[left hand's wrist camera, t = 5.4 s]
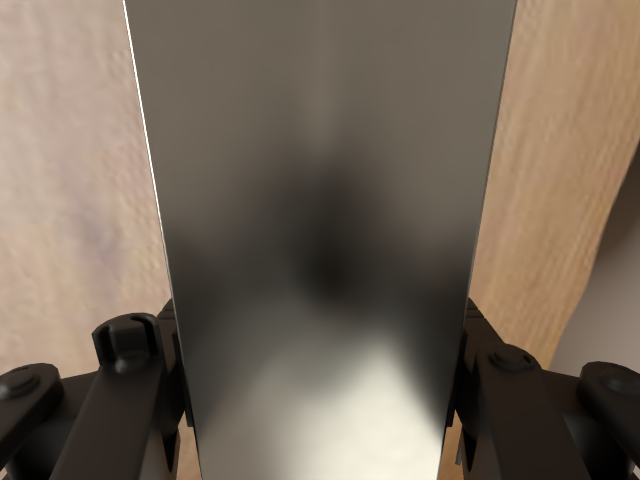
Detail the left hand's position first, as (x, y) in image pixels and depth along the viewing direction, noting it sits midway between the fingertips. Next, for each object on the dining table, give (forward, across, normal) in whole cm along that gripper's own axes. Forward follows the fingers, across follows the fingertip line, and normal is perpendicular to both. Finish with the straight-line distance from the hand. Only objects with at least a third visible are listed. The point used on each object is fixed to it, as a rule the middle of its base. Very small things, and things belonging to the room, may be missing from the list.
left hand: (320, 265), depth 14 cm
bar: (+1, 0, -8) cm, 8 cm away
